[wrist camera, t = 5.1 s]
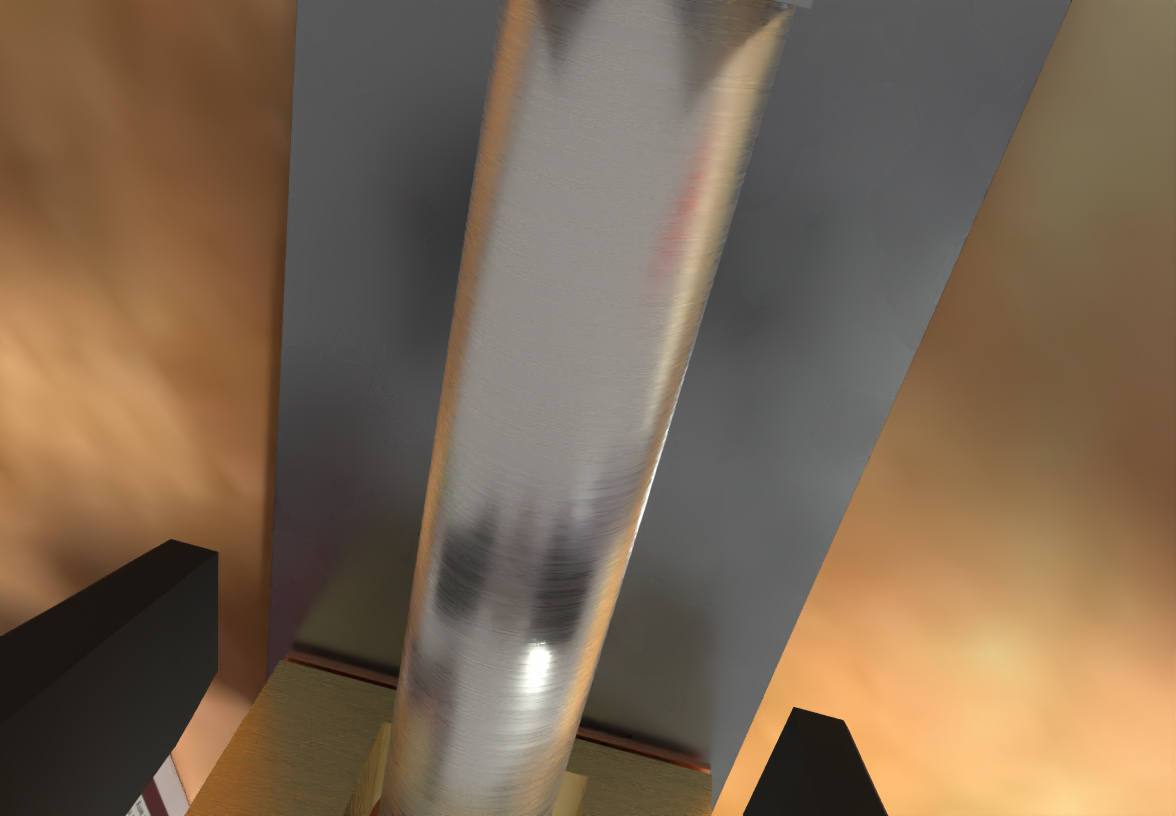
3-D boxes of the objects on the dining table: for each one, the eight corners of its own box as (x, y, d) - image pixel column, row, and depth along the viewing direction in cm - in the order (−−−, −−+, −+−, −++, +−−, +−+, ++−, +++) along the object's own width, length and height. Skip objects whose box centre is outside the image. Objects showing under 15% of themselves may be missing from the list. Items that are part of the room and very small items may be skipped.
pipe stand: (326, -265, 11) (48, -398, 6) (1091, -79, 11) (1347, -85, 6) (268, 833, 22) (148, 1065, 17) (649, 935, 22) (628, 1198, 17)
